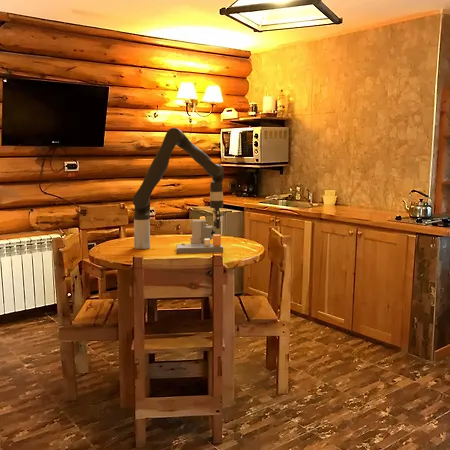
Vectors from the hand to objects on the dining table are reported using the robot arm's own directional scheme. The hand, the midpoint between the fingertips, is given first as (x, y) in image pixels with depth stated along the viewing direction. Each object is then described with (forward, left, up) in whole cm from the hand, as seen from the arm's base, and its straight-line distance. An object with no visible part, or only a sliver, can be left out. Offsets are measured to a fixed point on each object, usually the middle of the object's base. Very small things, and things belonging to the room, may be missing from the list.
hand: (216, 227), depth 294 cm
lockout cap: (0, 0, -10) cm, 10 cm away
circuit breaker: (-6, +20, -14) cm, 25 cm away
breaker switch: (-6, 0, -10) cm, 12 cm away
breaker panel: (-10, 0, -13) cm, 17 cm away
